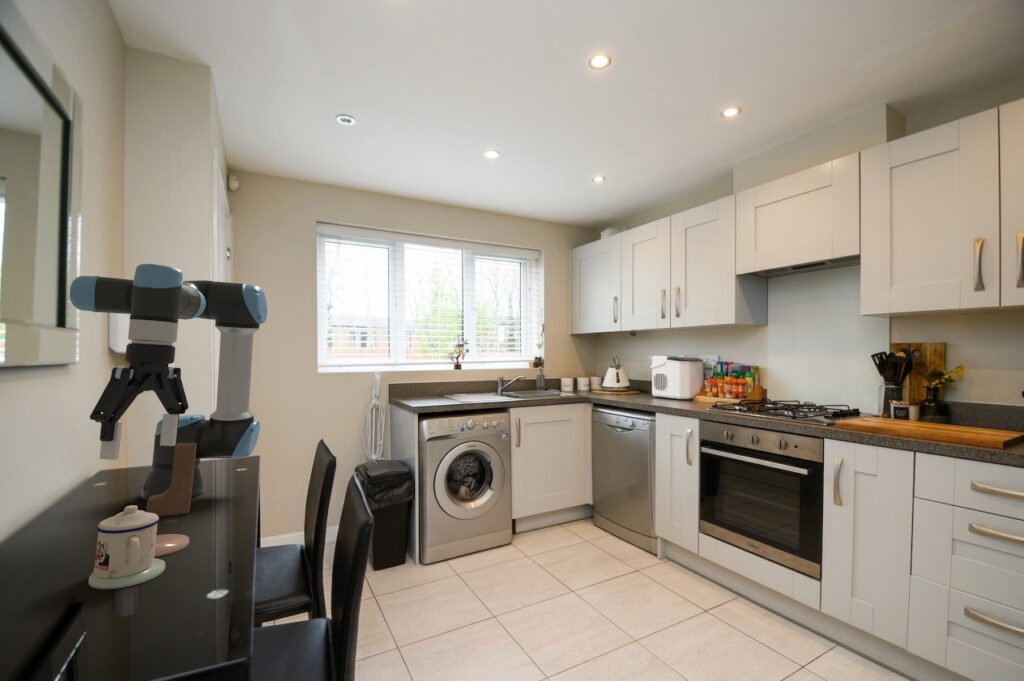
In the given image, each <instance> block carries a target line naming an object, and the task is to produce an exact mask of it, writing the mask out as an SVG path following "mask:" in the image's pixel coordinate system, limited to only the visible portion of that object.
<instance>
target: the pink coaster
mask: <svg viewBox="0 0 1024 681" xmlns="http://www.w3.org/2000/svg"><path fill="white" fill-rule="evenodd" d="M189 543H190V537H189V536H188V535H185V534H176V533H170V534H169V533H166V534H156V542H155V552H154V558H157V557H161V556H167V555H171V554H174V553H177V552H179V551H182V550H183V549H185V548H187V547H188V546H189Z"/></svg>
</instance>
